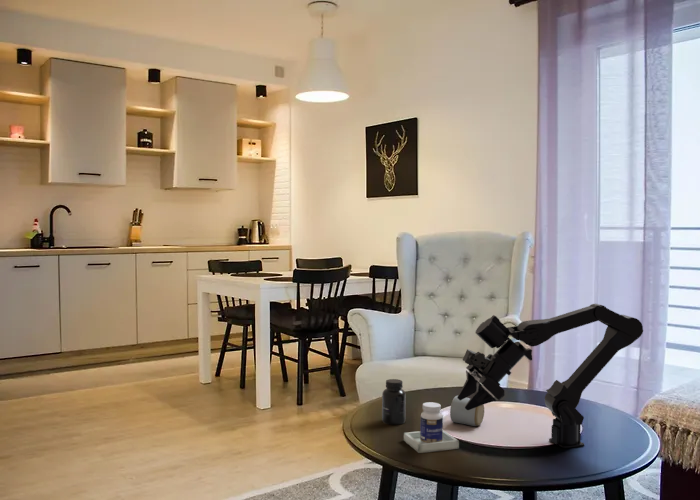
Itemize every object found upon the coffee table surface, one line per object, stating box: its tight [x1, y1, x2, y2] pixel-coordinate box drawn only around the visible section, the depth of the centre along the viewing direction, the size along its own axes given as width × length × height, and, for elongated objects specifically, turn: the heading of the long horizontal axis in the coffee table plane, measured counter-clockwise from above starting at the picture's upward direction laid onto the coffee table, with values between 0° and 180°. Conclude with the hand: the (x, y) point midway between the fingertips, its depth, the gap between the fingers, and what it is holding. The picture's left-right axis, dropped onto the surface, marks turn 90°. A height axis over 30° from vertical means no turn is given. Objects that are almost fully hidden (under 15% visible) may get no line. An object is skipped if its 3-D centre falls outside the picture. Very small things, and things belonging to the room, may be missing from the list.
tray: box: [403, 429, 460, 454], centre depth 162 cm, size 11×10×2 cm
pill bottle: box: [419, 401, 444, 444], centre depth 162 cm, size 6×6×10 cm
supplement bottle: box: [381, 378, 407, 426], centre depth 182 cm, size 7×7×12 cm
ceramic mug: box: [449, 395, 485, 427], centre depth 181 cm, size 11×8×8 cm
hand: (462, 403), depth 162 cm, fingers open, 9 cm apart
